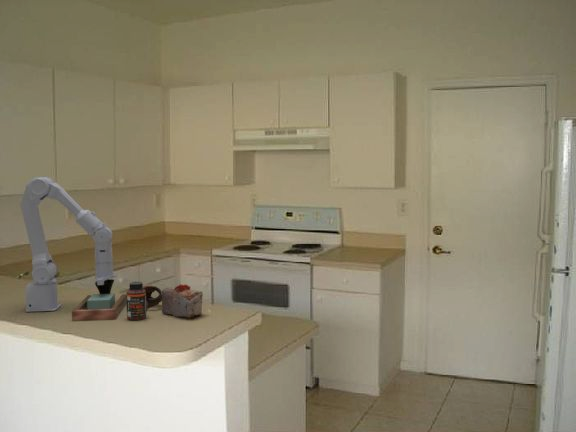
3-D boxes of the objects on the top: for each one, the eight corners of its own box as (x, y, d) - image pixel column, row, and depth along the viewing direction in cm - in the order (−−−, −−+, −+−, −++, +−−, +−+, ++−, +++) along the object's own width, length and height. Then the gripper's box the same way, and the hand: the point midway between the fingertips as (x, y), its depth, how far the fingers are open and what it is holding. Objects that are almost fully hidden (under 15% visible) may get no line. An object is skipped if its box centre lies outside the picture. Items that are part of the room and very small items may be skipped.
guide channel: (72, 320, 179) (71, 311, 179) (88, 303, 200) (88, 295, 200) (115, 319, 180) (114, 309, 180) (126, 302, 202) (126, 294, 201)
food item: (206, 315, 185) (206, 284, 184) (189, 321, 178) (189, 289, 177) (175, 309, 192) (174, 280, 191) (157, 315, 186) (157, 284, 185)
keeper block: (87, 314, 187) (87, 300, 186) (93, 307, 196) (93, 294, 195) (110, 313, 187) (109, 299, 187) (115, 306, 196) (114, 293, 196)
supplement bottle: (129, 321, 178) (128, 285, 176) (125, 317, 183) (123, 281, 182) (148, 319, 180) (147, 283, 179) (144, 314, 186) (142, 280, 184)
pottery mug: (163, 304, 201) (167, 286, 197) (156, 322, 193) (160, 304, 189) (129, 296, 200) (132, 278, 196) (121, 314, 192) (123, 296, 188)
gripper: (112, 265, 189) (113, 306, 191) (119, 258, 204) (121, 296, 205) (89, 266, 189) (91, 307, 190) (99, 258, 203) (100, 296, 204)
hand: (105, 301), depth 197 cm, fingers closed
